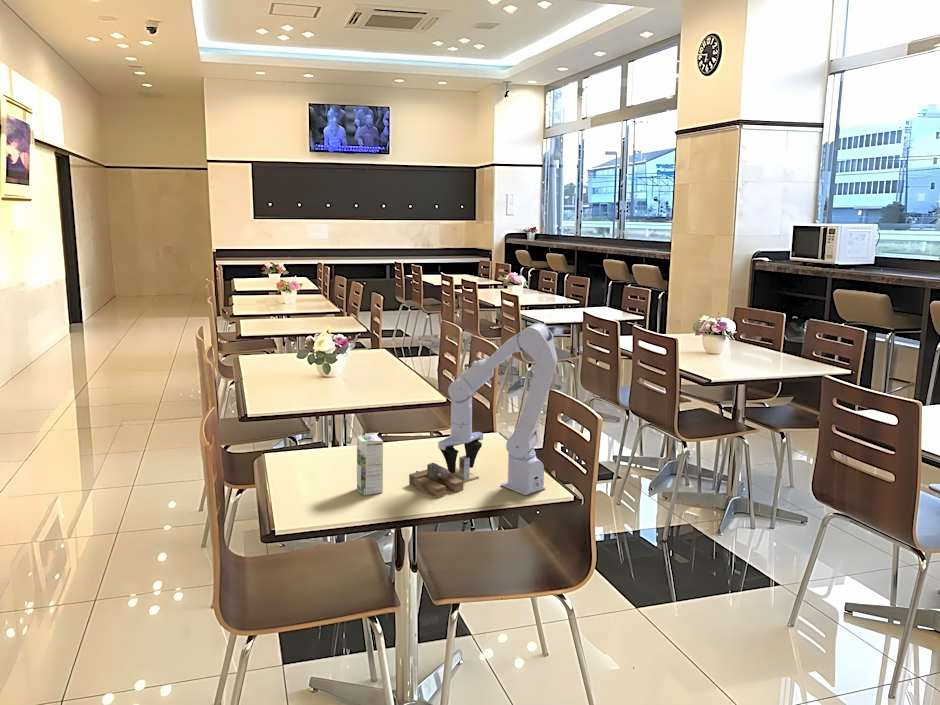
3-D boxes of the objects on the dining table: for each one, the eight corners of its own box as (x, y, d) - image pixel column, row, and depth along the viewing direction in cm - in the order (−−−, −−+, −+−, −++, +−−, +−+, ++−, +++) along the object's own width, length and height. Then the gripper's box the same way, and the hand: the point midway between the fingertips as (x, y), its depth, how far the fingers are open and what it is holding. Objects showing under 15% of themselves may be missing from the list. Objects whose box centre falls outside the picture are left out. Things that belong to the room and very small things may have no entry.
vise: (463, 489, 204) (463, 468, 203) (437, 497, 198) (437, 475, 197) (429, 475, 214) (429, 454, 213) (404, 482, 209) (403, 461, 208)
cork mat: (478, 478, 213) (478, 476, 213) (456, 484, 208) (456, 483, 207) (455, 468, 220) (455, 467, 220) (433, 474, 215) (433, 473, 215)
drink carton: (356, 488, 204) (355, 435, 201) (377, 485, 206) (377, 433, 203) (362, 496, 199) (361, 442, 196) (384, 493, 201) (383, 439, 198)
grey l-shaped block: (469, 478, 211) (469, 457, 210) (463, 480, 210) (464, 459, 209) (453, 471, 216) (453, 451, 215) (447, 473, 215) (447, 452, 214)
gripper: (471, 414, 217) (471, 460, 219) (431, 423, 207) (431, 471, 210) (488, 419, 212) (487, 466, 214) (447, 429, 202) (447, 478, 205)
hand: (460, 469), depth 212 cm, fingers open, 6 cm apart
